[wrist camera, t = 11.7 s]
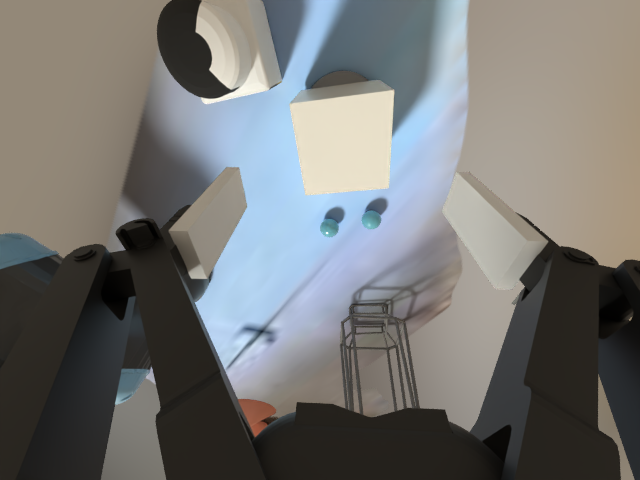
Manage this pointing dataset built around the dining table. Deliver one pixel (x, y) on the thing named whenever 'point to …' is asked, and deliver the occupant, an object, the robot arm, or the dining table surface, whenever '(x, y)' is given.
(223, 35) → the medicine bottle
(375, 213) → the marble
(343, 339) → the geometric lantern
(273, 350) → the dining table surface
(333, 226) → the marble
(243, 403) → the ceramic vessels
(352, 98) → the cream cube
